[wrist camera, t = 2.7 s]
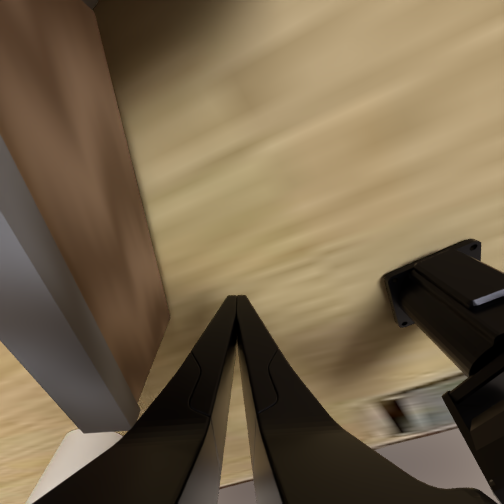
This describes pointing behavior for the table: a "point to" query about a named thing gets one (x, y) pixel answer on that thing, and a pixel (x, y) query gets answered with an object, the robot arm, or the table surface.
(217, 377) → the robot arm
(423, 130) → the table surface
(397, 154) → the table surface
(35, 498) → the cylindrical container
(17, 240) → the gate
